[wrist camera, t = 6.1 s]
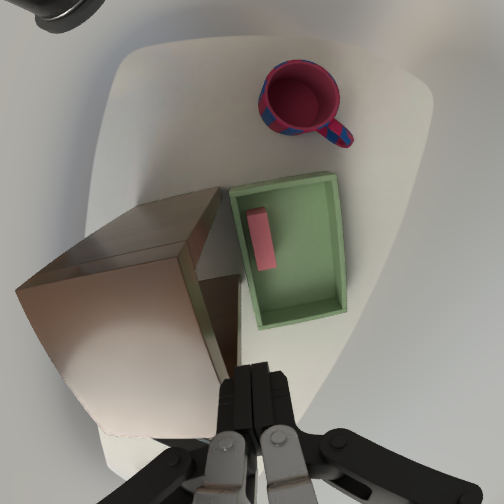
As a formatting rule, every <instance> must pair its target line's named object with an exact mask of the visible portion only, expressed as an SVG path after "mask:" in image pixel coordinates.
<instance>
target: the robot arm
mask: <svg viewBox="0 0 504 504" xmlns="http://www.w3.org/2000/svg"><path fill="white" fill-rule="evenodd" d="M5 1H8V2H10V3H12V4H15V5H17V6H19V7H21V8H23V9H25V10H28V11H30V12H32V13H34V14H36V15H38V16H40V17H41V18H42V19H44V20H46V21H51V22H52V21H57V20H60V19H63V18H65V17H67V16H68V15H70V14H71V13H73V12H74V11H76V10H77V9H78V8H79V7H80V6H81V5H82V4H83V3H84V2H85V1H86V0H5ZM218 405H219V406H218V415H217V430H216V435H215V436H214V437H213V438H212V440H211V441H210V443H209V444H208V445H206V446H204V447H202V448H199V449H196V450H192V451H189V452H188V451H187V450H185V449H184V448H181V447H171V448H168V449H166V450H164V451H163V452H162V453H161V454H159V455H158V456H157V457H156V458H155V459H153V460H152V461H151V462H150V463H149V464H147V465H146V466H145V467H144V468H143V469H141V470H140V471H139V472H138V473H136V474H135V475H134V476H133V477H131V478H130V479H129V480H128V481H126V482H125V483H124V484H123V485H121V486H120V487H119V488H117V489H116V490H115V491H113V492H112V493H111V494H109V495H108V496H107V497H105V498H104V499H103V500H101V501H100V502H98V503H97V504H257V479H258V469H257V456H261V455H262V456H263V462H264V468H265V474H266V479H267V494H268V500H269V504H318V501H317V498H316V495H315V491H314V488H313V484H312V481H311V479H322V480H323V481H325V482H326V483H328V484H329V485H331V486H332V487H334V488H336V489H337V490H339V491H341V492H342V493H344V494H346V495H348V496H349V497H351V498H353V499H355V500H356V501H358V502H360V503H362V504H481V503H482V500H483V493H482V490H481V488H480V487H479V486H478V485H476V484H474V483H471V482H468V481H465V480H462V479H459V478H456V477H453V476H450V475H447V474H445V473H442V472H439V471H437V470H434V469H432V468H429V467H427V466H424V465H422V464H419V463H417V462H415V461H412V460H410V459H408V458H406V457H403V456H401V455H399V454H397V453H395V452H392V451H390V450H388V449H386V448H384V447H382V446H380V445H378V444H376V443H374V442H372V441H370V440H368V439H366V438H364V437H362V436H360V435H358V434H356V433H354V432H352V431H350V430H348V429H344V428H337V429H333V430H330V431H328V432H327V433H326V434H324V435H314V434H308V433H305V432H303V431H301V430H300V429H299V428H298V427H297V426H296V424H295V420H294V414H293V409H292V403H291V398H290V392H289V387H288V381H287V377H286V376H285V375H284V374H283V373H282V371H276V372H270V371H269V366H268V362H261V363H255V364H251V365H250V364H249V365H242V366H235V367H234V378H229V379H224V381H223V382H222V384H221V386H220V388H219V400H218Z"/></svg>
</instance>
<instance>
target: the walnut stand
mask: <svg viewBox="0 0 504 504" xmlns="http://www.w3.org/2000/svg"><path fill="white" fill-rule="evenodd" d="M221 200H222V197H221V193H220V188H219V187H214V188H209V189H205V190H200V191H196V192H191V193H187V194H183V195H178V196H174V197H170V198H166V199H162V200H158V201H154V202H150V203H147V204H143V205H139V206H136V207H134V208H132V209H131V210H129V211H127V212H126V213H124V214H122V215H121V216H119V217H117V218H116V219H114V220H113V221H111V222H109V223H108V224H106V225H105V226H103V227H102V228H100V229H99V230H97V231H95V232H94V233H92V234H91V235H89V236H88V237H86V238H85V239H84V240H82V241H81V242H79V243H78V244H76V245H75V246H73V247H72V248H70V249H69V250H68V251H66V252H65V253H63V254H62V255H60V256H59V257H58V258H56V259H55V260H54V261H52V262H51V263H49V264H48V265H47V266H46V267H44V268H43V269H42V270H40V271H39V272H37V273H36V274H35V275H34V276H32V277H31V278H30V279H28V280H27V281H26V282H25V283H23V284H22V285H21V286H20V287H18V288H17V289H16V290H15V292H16V294H17V297H18V299H19V301H20V303H21V305H22V308H23V310H24V312H25V314H26V316H27V318H28V320H29V322H30V324H31V326H32V328H33V329H34V331H35V333H36V335H37V337H38V339H39V340H40V342H41V344H42V346H43V347H44V349H45V351H46V353H47V354H48V356H49V358H50V359H51V361H52V362H53V364H54V366H55V367H56V369H57V370H58V372H59V373H60V375H61V376H62V378H63V379H64V381H65V382H66V384H67V385H68V386H69V388H70V389H71V391H72V392H73V394H74V395H75V396H76V398H77V399H78V400H79V402H80V403H81V404H82V406H83V407H84V408H85V409H86V411H87V412H88V413H89V415H90V416H91V417H92V418H93V419H94V421H95V422H96V423H97V424H98V426H99V427H100V428H101V429H102V430H103V432H104V433H105V434H106V435H112V436H123V437H136V438H159V439H192V438H213V437H214V436H215V435H216V430H217V415H218V406H219V405H218V400H219V388H220V386H221V384H222V382H223V381H224V379H229V378H234V367H235V366H241V282H240V278H239V274H236V275H231V276H225V277H220V278H214V279H209V280H203V281H198V279H197V276H196V272H195V268H196V265H197V263H198V260H199V257H200V255H201V252H202V249H203V247H204V244H205V241H206V239H207V236H208V233H209V231H210V228H211V226H212V223H213V220H214V218H215V215H216V213H217V210H218V208H219V205H220V203H221Z"/></svg>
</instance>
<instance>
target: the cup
mask: <svg viewBox="0 0 504 504" xmlns="http://www.w3.org/2000/svg"><path fill="white" fill-rule="evenodd" d="M339 104H340V95H339V90H338V87H337V84H336V82H335V80H334V79H333V77H332V76H331V75H330V74H329V73H328V72H327V71H326V70H325V69H324V68H322V67H321V66H319V65H317V64H315V63H313V62H310V61H306V60H291V61H286V62H284V63H281V64H279V65H278V66H276V67H275V68H274V69H273V70H272V71H271V72H270V73H269V74H268V76H267V78H266V80H265V82H264V85H263V88H262V91H261V94H260V97H259V102H258V107H259V112H260V115H261V117H262V119H263V121H264V122H265V123H266V125H267V126H268V127H270V128H271V129H272V130H274V131H275V132H278V133H280V134H284V135H299V134H303V133H307V132H311V131H317V132H318V133H320V134H321V135H322V136H324V137H325V138H326V139H328V140H329V141H331V142H332V143H334V144H336V145H337V146H340V147H343V148H349V147H350V146H351V145H352V143H353V142H354V138H353V136H352V134H351V133H350V131H349V130H348V129H347V128H345V127H344V126H343V125H342V124H341V123H340V122H338V121H337V120H336V119H334V117H335V115H336V113H337V111H338V108H339ZM331 130H332V131H331ZM334 132H335V133H334Z"/></svg>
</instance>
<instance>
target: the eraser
mask: <svg viewBox="0 0 504 504" xmlns="http://www.w3.org/2000/svg"><path fill="white" fill-rule="evenodd" d="M246 214H247V220H248V225H249V230H250V235H251V239H252V244H253V249H254V253H255V258H256V263H257V267H258V271H262V270H267V269H272V268H277V264H276V259H275V254H274V248H273V243H272V238H271V232H270V227H269V222H268V217H267V212H266V210H265V207H259V208H254V209H249V210H246Z"/></svg>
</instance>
